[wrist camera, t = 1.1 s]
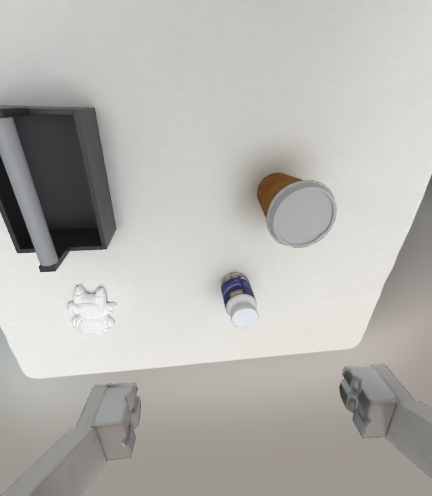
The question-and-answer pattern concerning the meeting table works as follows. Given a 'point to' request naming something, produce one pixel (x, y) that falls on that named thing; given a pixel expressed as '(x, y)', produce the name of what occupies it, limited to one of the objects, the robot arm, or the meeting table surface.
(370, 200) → the meeting table surface
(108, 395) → the robot arm
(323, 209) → the disposable coffee cup
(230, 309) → the pill bottle
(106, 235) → the black bin
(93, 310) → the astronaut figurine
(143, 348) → the meeting table surface
